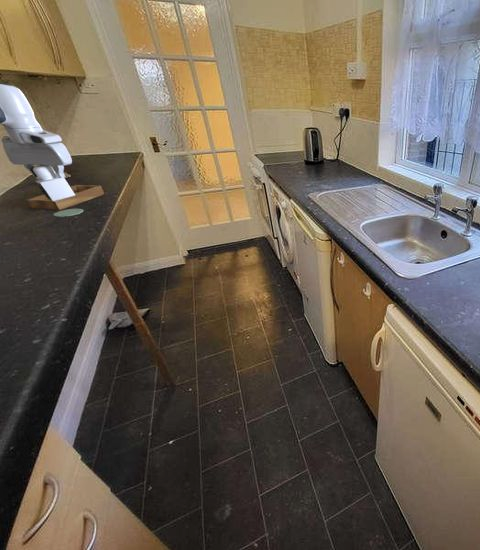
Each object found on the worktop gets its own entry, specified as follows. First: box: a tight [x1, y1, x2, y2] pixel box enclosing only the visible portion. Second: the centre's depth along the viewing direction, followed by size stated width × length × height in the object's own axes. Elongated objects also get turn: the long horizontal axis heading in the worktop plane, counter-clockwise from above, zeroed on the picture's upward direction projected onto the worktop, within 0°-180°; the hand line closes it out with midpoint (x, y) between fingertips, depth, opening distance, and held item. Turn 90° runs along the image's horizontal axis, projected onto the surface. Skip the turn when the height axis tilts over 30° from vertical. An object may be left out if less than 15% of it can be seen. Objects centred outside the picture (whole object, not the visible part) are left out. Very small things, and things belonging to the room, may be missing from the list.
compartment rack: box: [25, 184, 105, 211], centre depth 128 cm, size 12×23×4 cm, turn 178°
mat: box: [52, 208, 84, 218], centre depth 117 cm, size 9×9×1 cm
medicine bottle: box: [30, 165, 75, 201], centre depth 111 cm, size 7×7×12 cm
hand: (50, 177), depth 110 cm, fingers closed on medicine bottle, 7 cm apart
